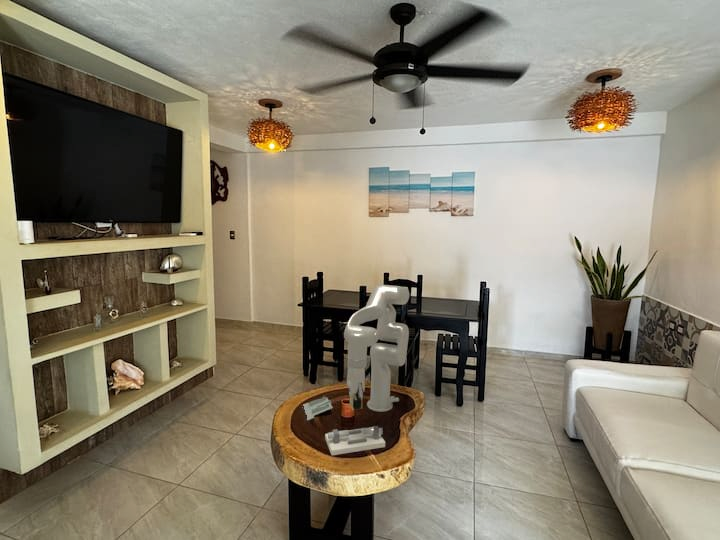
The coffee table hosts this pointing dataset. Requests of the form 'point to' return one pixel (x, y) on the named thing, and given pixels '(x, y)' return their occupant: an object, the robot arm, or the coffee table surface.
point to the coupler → (352, 400)
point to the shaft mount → (351, 441)
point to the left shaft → (373, 431)
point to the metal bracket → (317, 407)
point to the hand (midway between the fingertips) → (355, 405)
